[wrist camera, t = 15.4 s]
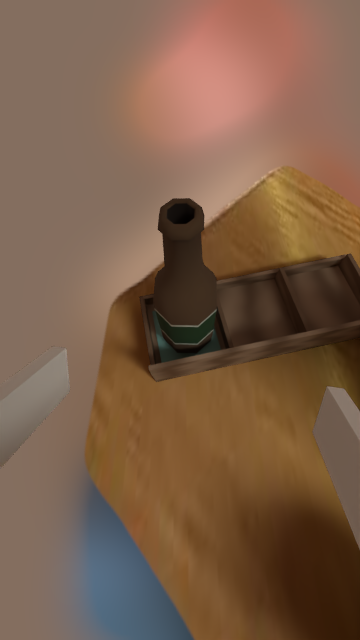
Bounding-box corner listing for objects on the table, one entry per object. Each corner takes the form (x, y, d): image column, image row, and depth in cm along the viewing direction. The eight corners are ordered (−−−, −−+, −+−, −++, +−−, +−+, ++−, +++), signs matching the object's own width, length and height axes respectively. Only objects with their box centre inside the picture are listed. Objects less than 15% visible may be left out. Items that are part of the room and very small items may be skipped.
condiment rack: (337, 265, 47) (359, 237, 41) (374, 334, 42) (406, 314, 35) (143, 305, 46) (134, 283, 39) (156, 381, 40) (149, 370, 34)
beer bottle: (221, 345, 41) (252, 234, 19) (172, 363, 40) (145, 269, 18) (201, 302, 44) (209, 164, 22) (156, 318, 43) (116, 191, 21)
